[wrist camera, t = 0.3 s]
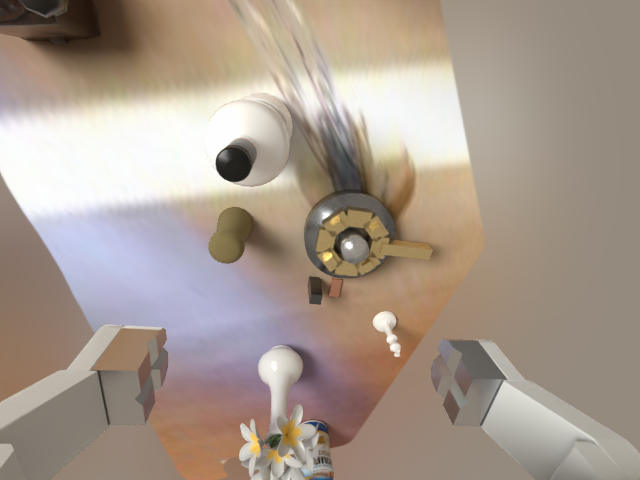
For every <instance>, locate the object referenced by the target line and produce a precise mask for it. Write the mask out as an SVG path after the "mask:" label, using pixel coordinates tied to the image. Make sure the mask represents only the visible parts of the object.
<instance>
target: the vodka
mask: <svg viewBox="0 0 640 480" xmlns="http://www.w3.org/2000/svg"><path fill="white" fill-rule="evenodd" d="M292 130H293V124H292V118H291V115H290V113H289V111H288V109H287V107H286V106H285V105H284V103H283V102H282V101H280V100H279V99H278V98H276V97H274V96H272V95H270V94H267V93H254V94H250V95H248V96H246V97H244V98H243V99H241V100H237V101H232V102H229V103H227V104H225V105H223V106H222V107H220V108H219V109H218V110H216V111H215V113H214V114H213V115H212V116H211V118H210V120H209V122H208V124H207V126H206V130H205V136H204V141H205V149H206V153H207V157H208V159H209V160H210V162H211V164H212V166H213V167H214V168H215V170H216V171H217V172H218V173H219V175H220V176H221V177H222V178H224V179H225V180H227V181H230V182H232V183H234V184H238V185H241V186H250V187H253V186H260V185H263V184H266V183H268V182H270V181H272V180H273V179H275V178H276V177H277V176H278V175H279V174H280V173H281V172H282V171H283V169H284V167H285V165H286V164H287V161H288V157H289V154H290V139H291V136H292Z"/></svg>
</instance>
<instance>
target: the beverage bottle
mask: <svg viewBox="0 0 640 480" xmlns="http://www.w3.org/2000/svg"><path fill="white" fill-rule="evenodd" d="M318 423H319V425H318V429H317V431H316V433H318V432H319V438H318V441H317V444H316V446H315V447H314V449H313V452H312V453H313V458H314V459H316V460H317V463H316V464H315V465H313V472H312V471H311V469H310V475H309V470H308V469H305V470H303V469H301V468H300V469H301V470H302V471H303V473H304V475H305V480H333V476H334V472H333V467H332V462H331V454H330V445H329V437H328V428H327V426H326V425H325V424H324V423H323V422H321V421H318V420H309V421H305V422H303V423H301V424H311V425H313V426H314V427H316V426H317V424H318ZM301 424H300V425H301ZM316 433H315V434H316ZM298 440H300V441H301V442H302V443H303V442H304V441H305V440H306V439H303V440H302V439H298ZM296 459H297V457H296ZM297 460H298V459H297Z"/></svg>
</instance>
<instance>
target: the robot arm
mask: <svg viewBox="0 0 640 480" xmlns="http://www.w3.org/2000/svg"><path fill="white" fill-rule="evenodd" d="M166 340H167V338H166V330H165V329H164V328H159V327H143V326H127V325H126V326H122V325H104V326H102V327H101V328H100V329H99V330H98V331H97V332H96V334H95V335H94V336H93V337H92V339H91V340H90V341H89V342H88V344H87V345H86V346H85V347H84V349H83V350H82V351H81V352H80V354H79V355H78V356H77V357H76V359H75V360H74V361H73V362H72V364H71V365H70V366H69V367H68V369H67V370H59V371H57V372H56V373H53V374H52V375H50V376H48V377H46V378H44V379H43V380H41V381H39V382H37V383H35V384H33V385H31V386H29V387H28V388H26V389H24V390H22V391H20V392H18V393H17V394H15V395H13V396H11V397H9V398H7V399H6V400H4V401H2V402H0V480H50V479H52V477H54V476H55V475H56V474H57V473H58V472H59V471H61V469H63V467H65V466H66V465H67V464H68V463H69V462H71V461H72V460H73V459H74V458H75V457H76V456H77V455H78V454H80V453H81V452H82V451H83V450H84V449H85V448H86V447H87V446H89V445H90V444H91V443H92V442H93V441H94V440H95V439H96V438H98V437H99V436H100V435H101V434H102V433H103V432H104V431H105V430H107V428H108V426H109V425H145V424H146V421H147V419H148V417H149V415H150V412H151V410H152V408H153V405H154V403H155V395H154V392H156V391H157V390H158V389H160V388H161V387H162V384H163V382H164V380H165V376H166V372H167V368H168V352H167V351H166V350H165V349H164V348H163V346H164V344H165V342H166ZM438 351H439V353H440V355H439V356H438V357H437V358H435V359H434V361H433V364H432V367H431V378H432V382H433V385H434V387H435V389H436V391H437V392H438V393H439V394H440V395H441V396H442V397H444V398H445V400H444V403H443V406H444V408H445V410H446V412H447V414H448V416H449V418H450V420H451V422H452V424H453V425H455V426H482V427H481V428H482V429H483V430H484V431H485V432H486V433H487V434H488V435H489V436H490V437H491V438H492V439H493V440H494V441H495V442H496V443H497V444H498V445H500V446H501V447H502V448H503V449H504V450H505V451H506V452H507V453H508V454H509V455H510V456H511V457H512V458H513V459H514V460H515V461H516V462H517V463H518V464H519V465H520V466H521V467H523V468H524V469H525V470H526V471H527V472H528V473H529V474H530V475H531V476H532V477H533V478H534V479H535V480H640V453H639V452H638V451H637V450H636V449H635V448H634V447H633V446H632V445H631V444H630V443H629V442H628V441H627V440H626V439H624V438H622V437H621V436H619V435H617V434H616V433H614V432H613V431H611V430H609V429H608V428H606V427H604V426H603V425H601V424H600V423H598V422H596V421H595V420H593V419H592V418H590V417H588V416H587V415H585V414H583V413H582V412H580V411H579V410H577V409H575V408H574V407H572V406H570V405H569V404H567V403H566V402H564V401H562V400H561V399H559V398H557V397H556V396H554V395H553V394H551V393H549V392H548V391H546V390H544V389H543V388H541V387H540V386H538V385H536V384H535V383H533V382H531V381H525V379H524V378H523V377H522V376H521V375H520V373H519V372H518V371H517V370H516V369H515V368H514V366H513V365H512V364H511V363H510V361H509V360H508V359H507V358H506V356H505V355H504V354H503V353H502V351H500V349H499V348H498V347H497V346H496V344H495V343H494V342H492V341H490V340H462V339H443V340H442V341H441V342H440V344H439V346H438Z"/></svg>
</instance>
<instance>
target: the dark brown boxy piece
mask: <svg viewBox="0 0 640 480" xmlns="http://www.w3.org/2000/svg"><path fill="white" fill-rule="evenodd" d="M0 33H1V34H6V35H11V36H16V37H20V38H22V39H25V40H45V41H51V43H55V44H63V43H68V41H70V40H73V39H88V38H92V37H96V36H100V32H99V26H98V19H97V13H96V9H95V6H94V2H93V0H0Z"/></svg>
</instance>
